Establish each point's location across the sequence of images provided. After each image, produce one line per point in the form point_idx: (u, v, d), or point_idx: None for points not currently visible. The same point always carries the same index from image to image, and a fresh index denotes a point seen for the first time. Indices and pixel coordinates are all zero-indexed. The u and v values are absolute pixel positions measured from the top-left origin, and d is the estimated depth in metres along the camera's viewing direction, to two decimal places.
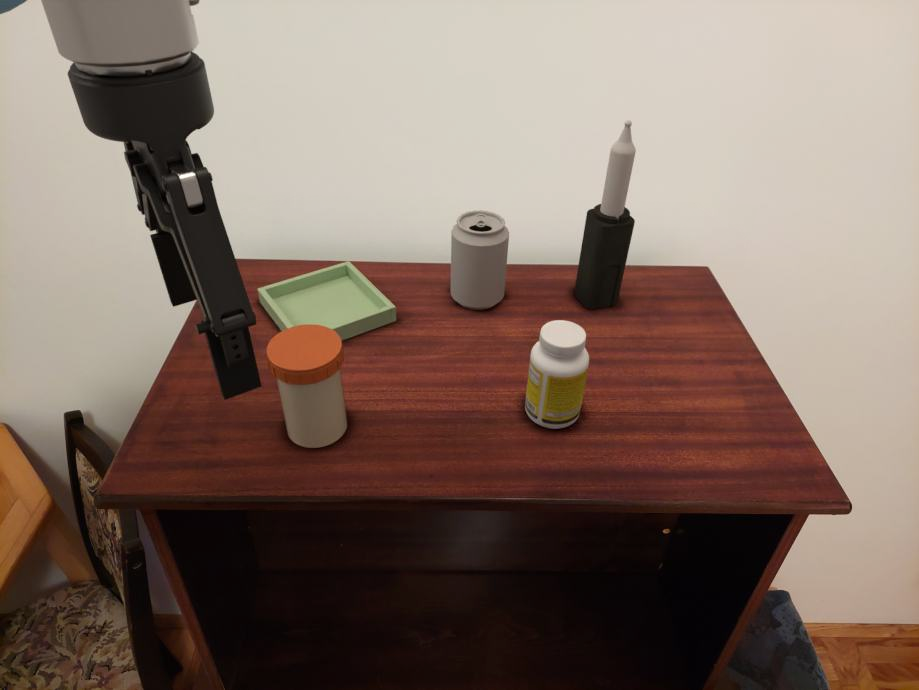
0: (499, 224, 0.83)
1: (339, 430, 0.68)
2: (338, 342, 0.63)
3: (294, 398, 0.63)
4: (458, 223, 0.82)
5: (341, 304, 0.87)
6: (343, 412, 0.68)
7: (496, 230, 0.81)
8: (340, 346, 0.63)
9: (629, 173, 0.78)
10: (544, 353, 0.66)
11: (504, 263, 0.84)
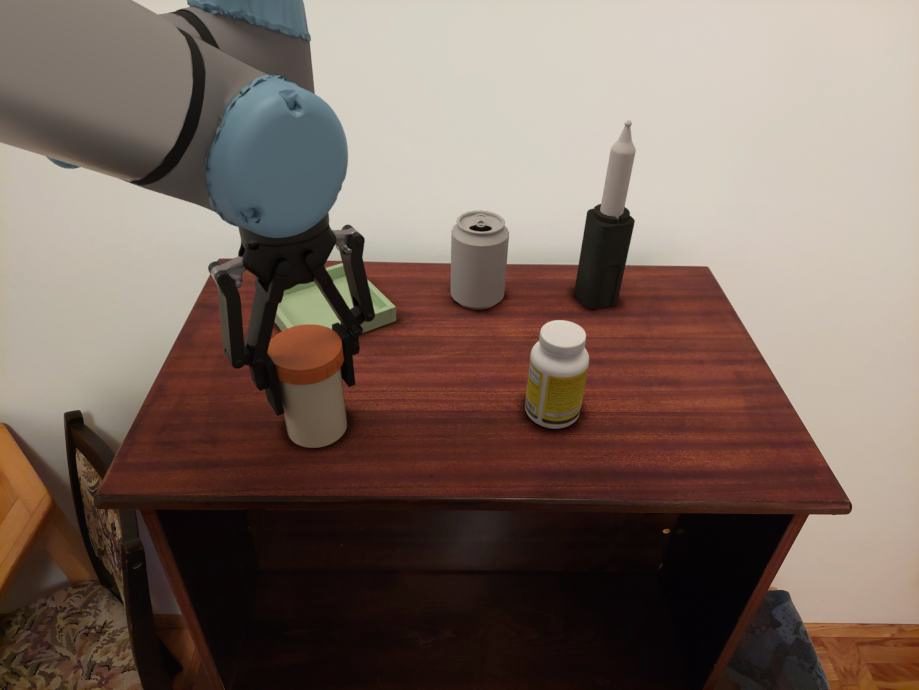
0: (499, 224, 0.83)
1: (339, 430, 0.68)
2: (338, 342, 0.63)
3: (294, 398, 0.63)
4: (458, 223, 0.82)
5: None
6: (343, 412, 0.68)
7: (496, 230, 0.81)
8: (340, 346, 0.63)
9: (629, 173, 0.78)
10: (544, 353, 0.66)
11: (504, 263, 0.84)
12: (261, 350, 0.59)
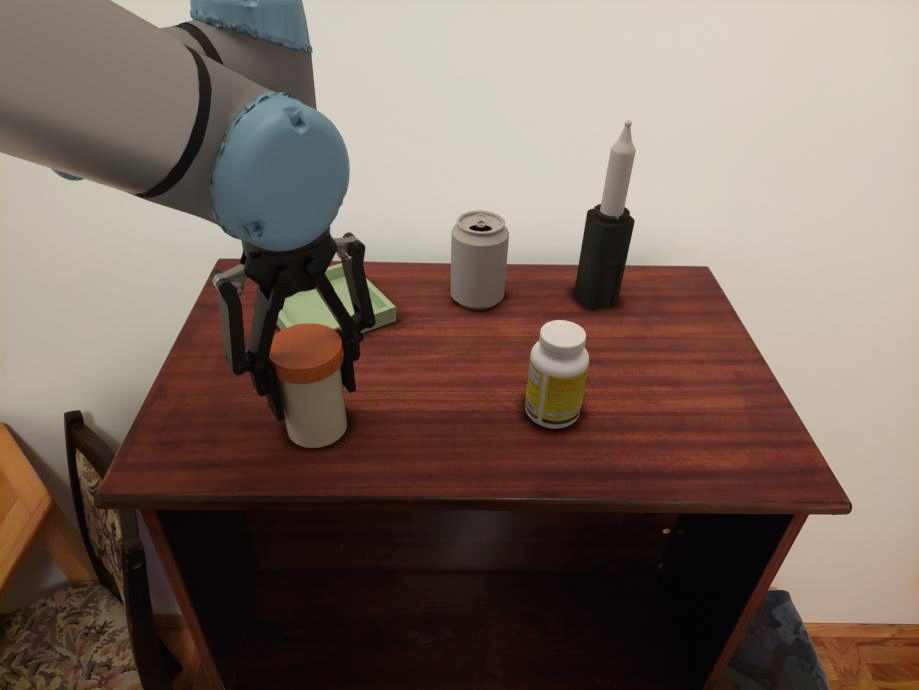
0: (499, 224, 0.83)
1: (339, 430, 0.68)
2: (298, 325, 0.65)
3: (294, 398, 0.63)
4: (458, 223, 0.82)
5: None
6: (343, 412, 0.68)
7: (496, 230, 0.81)
8: (304, 324, 0.65)
9: (629, 173, 0.78)
10: (544, 352, 0.66)
11: (504, 263, 0.84)
12: (262, 357, 0.59)
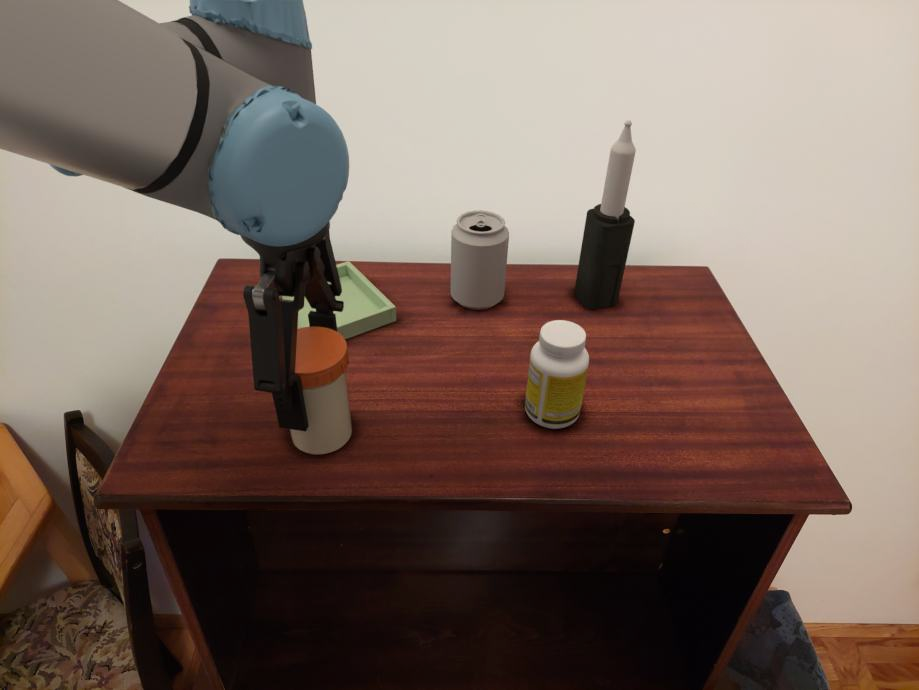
0: (499, 224, 0.83)
1: (344, 437, 0.67)
2: (322, 367, 0.60)
3: None
4: (458, 223, 0.82)
5: None
6: (348, 418, 0.67)
7: (496, 230, 0.81)
8: (317, 370, 0.59)
9: (629, 173, 0.78)
10: (544, 352, 0.66)
11: (504, 263, 0.84)
12: (292, 366, 0.57)
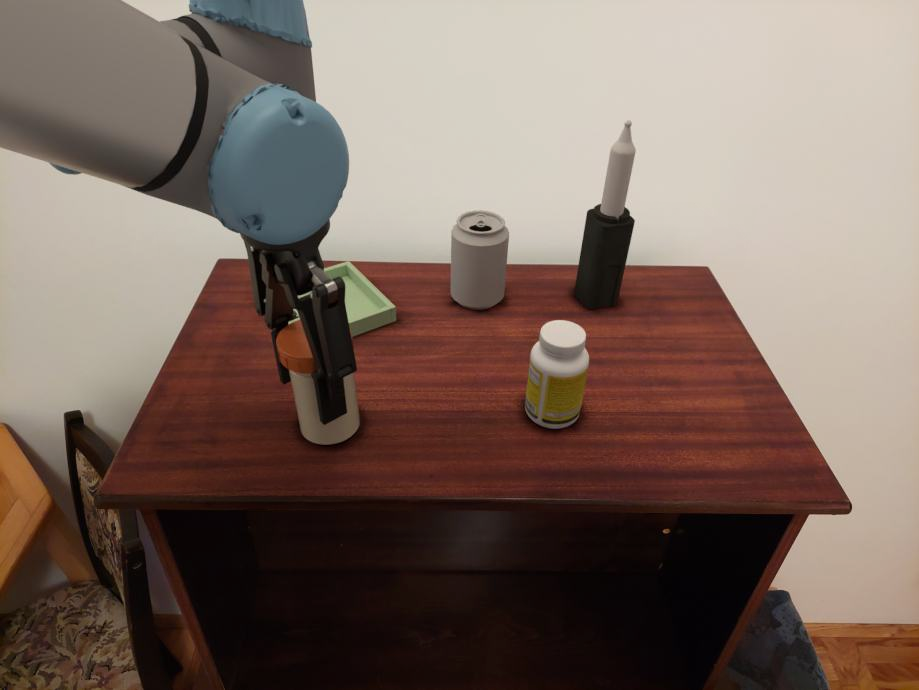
0: (499, 224, 0.83)
1: (356, 421, 0.69)
2: None
3: None
4: (458, 223, 0.82)
5: None
6: (357, 403, 0.68)
7: (496, 230, 0.81)
8: None
9: (629, 173, 0.78)
10: (544, 352, 0.66)
11: (504, 263, 0.84)
12: None
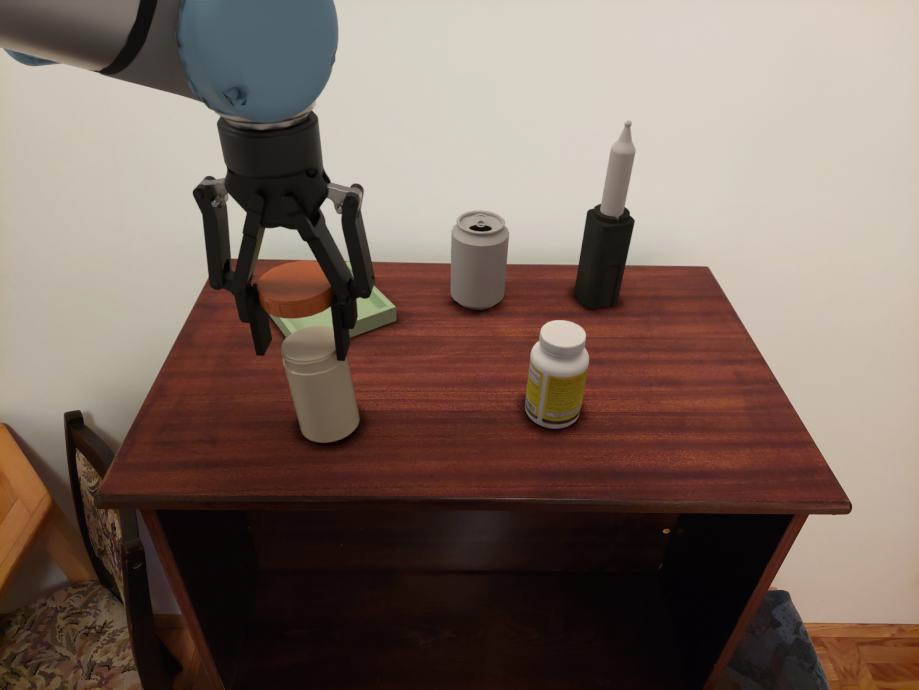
0: (499, 224, 0.83)
1: (355, 418, 0.68)
2: (306, 262, 0.62)
3: (312, 391, 0.63)
4: (458, 223, 0.82)
5: None
6: None
7: (496, 230, 0.81)
8: (313, 261, 0.62)
9: (629, 173, 0.78)
10: (544, 353, 0.66)
11: (504, 263, 0.84)
12: None
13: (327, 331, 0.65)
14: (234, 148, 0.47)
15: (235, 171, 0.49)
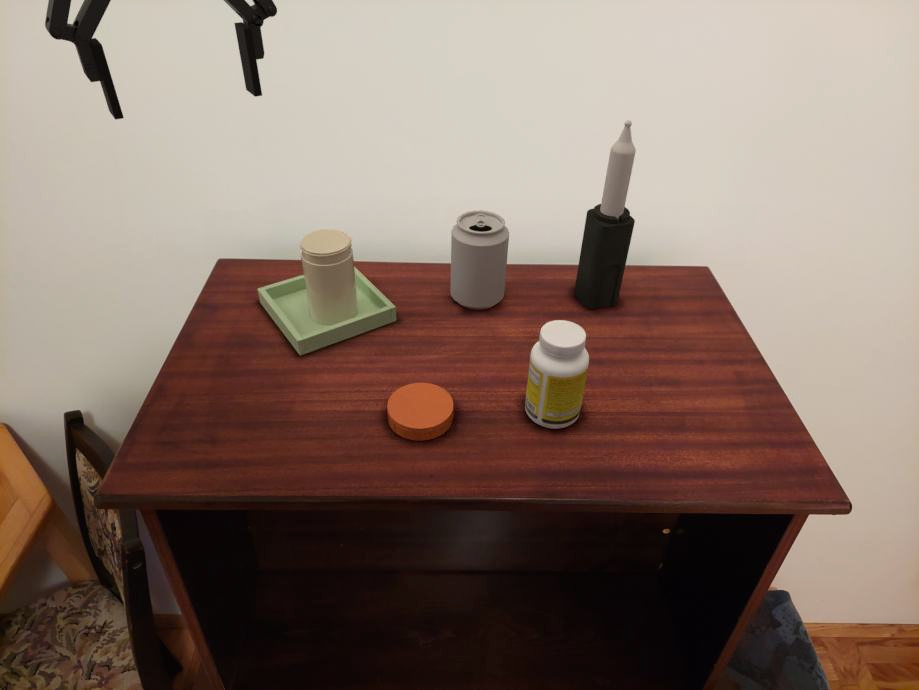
0: (499, 224, 0.83)
1: (355, 309, 0.84)
2: (406, 386, 0.72)
3: (322, 280, 0.79)
4: (458, 223, 0.82)
5: None
6: (356, 293, 0.84)
7: (496, 230, 0.81)
8: (410, 384, 0.73)
9: (629, 173, 0.78)
10: (544, 352, 0.66)
11: (504, 263, 0.84)
12: None
13: (338, 234, 0.80)
14: None
15: None
